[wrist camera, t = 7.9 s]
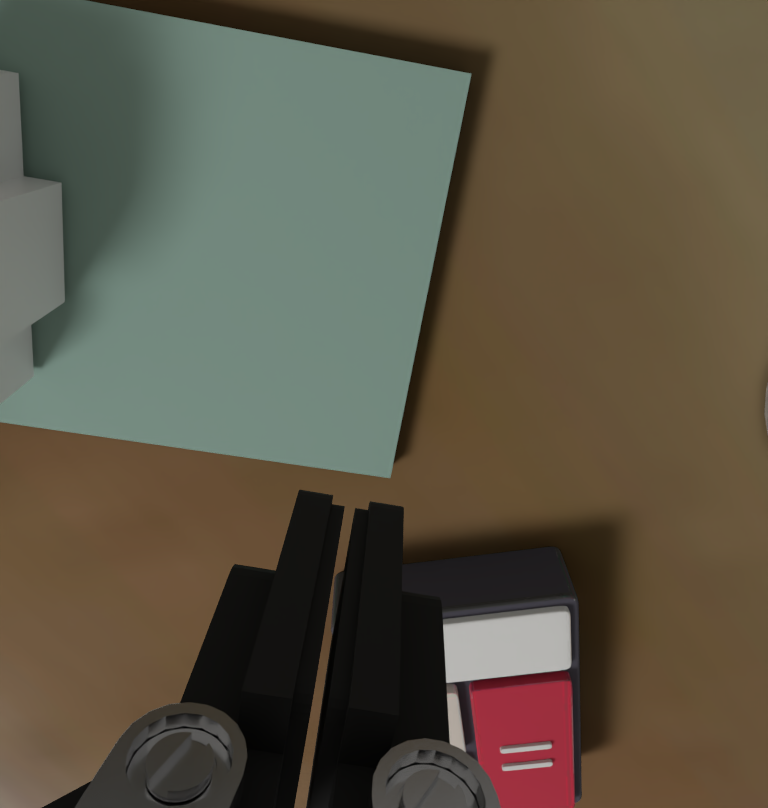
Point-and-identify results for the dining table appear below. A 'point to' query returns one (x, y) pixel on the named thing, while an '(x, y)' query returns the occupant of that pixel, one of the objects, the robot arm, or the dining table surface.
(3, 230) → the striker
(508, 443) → the dining table surface
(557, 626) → the calculator
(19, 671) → the dining table surface
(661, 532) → the dining table surface
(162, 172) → the pitch
